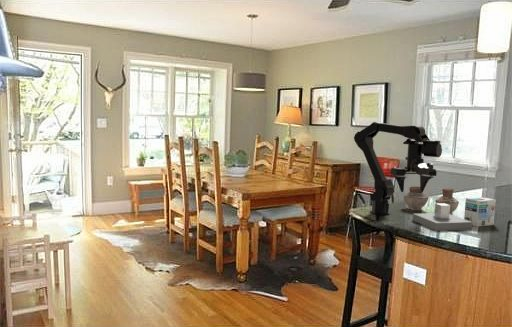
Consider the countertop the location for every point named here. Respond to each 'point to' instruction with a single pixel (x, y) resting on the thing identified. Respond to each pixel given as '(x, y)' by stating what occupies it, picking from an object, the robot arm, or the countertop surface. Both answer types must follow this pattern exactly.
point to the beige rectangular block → (442, 211)
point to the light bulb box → (480, 211)
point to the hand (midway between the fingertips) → (412, 191)
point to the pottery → (418, 199)
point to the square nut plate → (442, 222)
